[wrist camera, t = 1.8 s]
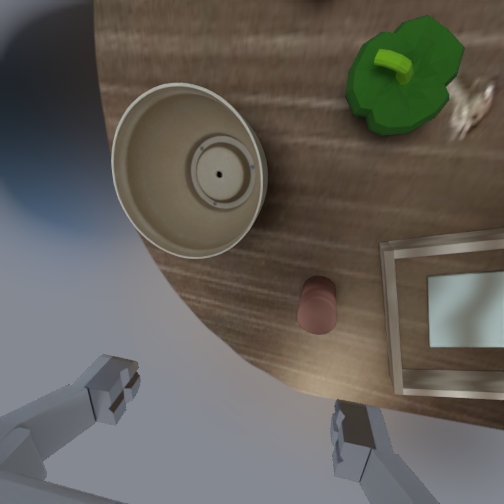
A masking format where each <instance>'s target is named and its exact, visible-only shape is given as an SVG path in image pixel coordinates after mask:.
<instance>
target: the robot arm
mask: <svg viewBox="0 0 504 504" xmlns="http://www.w3.org/2000/svg"><path fill="white" fill-rule="evenodd" d="M138 368H139V366H138V362H136V361H133V360H128V359H124V358H119V357H115V356H110V355H105V354H103V355H101V356H99V357H98V358H97V359H96V360H95V361H94V363H92V364H91V366H89V367H88V368H87V370H86V371H85V372H84V373H83V374H82V375H81V376H80V377H79V378H78V379H77V380H76V381H75V382H74V383H73V384H72V385H70V384H68V385H66V386H64V387H62V388H60V389H58V390H56V391H54V392H51V393H49V394H47V395H45V396H43V397H41V398H39V399H37V400H35V401H33V402H31V403H29V404H27V405H25V406H22V407H21V408H18V409H16V410H14V411H12V412H10V413H8V414H6V415H4V416H2V417H0V504H127V503H123V502H120V501H116V500H112V499H109V498H105V497H101V496H97V495H94V494H91V493H87V492H83V491H80V490H76V489H72V488H69V487H65V486H62V485H58V484H54V483H50V482H47V481H44V480H45V478H46V476H47V471H46V469H45V466H44V464H43V461H44V460H45V459H47V458H48V457H50V456H51V455H52V454H54V453H55V452H56V451H58V450H59V449H60V448H62V447H63V446H65V445H66V444H67V443H69V442H70V441H72V440H73V439H74V438H76V437H77V436H78V435H80V434H81V433H83V432H84V431H85V430H87V429H88V428H89V427H91V426H92V425H93V424H95V422H101V423H106V424H111V425H116V424H117V423H118V421H119V420H120V418H121V417H122V415H123V414H124V412H125V411H126V404H127V403H129V402H130V401H132V400H133V399H134V397H135V396H136V394H137V392H138V389H139V387H140V375H139V374H138V373H137V372H136V371H137V370H138ZM330 430H331V431H330V432H331V443H332V444H333V446H334V451H333V455H332V457H333V467H334V476H336V477H340V478H343V479H347V480H351V481H355V482H359V483H360V486H361V488H362V489H363V491H364V493H365V495H366V496H367V498H368V500H369V502H370V503H371V504H440V503H439V502H438V501H437V500H436V499H435V497H434V496H433V495H432V494H431V493H430V492H429V490H428V489H427V488H426V487H425V486H424V484H423V483H422V482H421V481H420V480H419V478H418V477H417V476H416V475H415V474H414V473H413V471H412V470H411V469H410V468H409V467H408V465H407V464H406V463H405V462H404V461H403V460H402V458H401V457H400V456H399V455H398V454H394V452H393V449H392V446H391V442H390V439H389V436H388V432H387V428H386V425H385V422H384V418H383V415H382V411H381V409H380V408H379V407H376V406H371V405H366V404H362V403H356V402H350V401H345V400H339V399H337V400H336V402H335V413H334V414H332V419H331V428H330Z"/></svg>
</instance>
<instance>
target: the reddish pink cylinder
mask: <svg viewBox="0 0 504 504" xmlns="http://www.w3.org/2000/svg"><path fill="white" fill-rule="evenodd" d="M297 318H298V322H299V324H300V326H301V327H302V328H303V329H304V330H306V331H307V332H309V333H312V334H317V335H321V334H326V333H328V332H330V331H331V330H332V329H333V328H334V327H335V325H336V321H337V315H336V288H335V285H334V284H333V282H332V281H331V280H330V279H328V278H326V277H323V276H314V277H311V278H309V279H308V280H307V281H306V282H305V284H304V286H303V291H302V296H301V300H300V305H299V310H298V314H297Z"/></svg>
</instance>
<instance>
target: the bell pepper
mask: <svg viewBox="0 0 504 504" xmlns="http://www.w3.org/2000/svg"><path fill="white" fill-rule="evenodd" d="M464 49H465V48H464V46H463V45H462V44H461V43H460V42H459V41H458V40H457V39H456V37H455V36H454V35H453V34H452V33H451V32H450V31H449V30H448V29H447V28H445V27H444V26H443V25H441V24H440V23H438V22H437V21H436V20H434V19H433V18H432V17H430V16H428V15H427V16H423V17H420V18H416V19H413V20H409V21H406V22H403V23H402V24H401V25H400V26H399V27H398V28H397V29H396V30H395V31H394V32H393V33H391V32H381V33H379V34H378V35H376V36H375V37H373V38H372V39H370V40H369V41H368V42H366V43H365V44H363V45H362V47H361V49H360V51H359V53H358V55H357V57H356V59H355V61H354V63H353V65H352V67H351V69H350V71H349V73H348V81H347V89H346V99H347V102H348V104H349V106H350V108H351V111H352V113H353V115H354V116H358V117H365V119H366V123H367V127H368V130H369V131H371V132H374V133H376V134H378V135H380V136H383V135H397V134H406V133H409V132H411V131H412V130H414V129H416V128H418V127H419V126H421V125H423V124H424V123H426V122H428V121H430V120H431V119H433V118H435V117H436V115H437V114H438V113H439V112H440V111H441V109H442V108H443V107H444V106H445V105H446V103H447V102H448V101H449V94H448V91H447V89H446V86H447V85H448V84H449V83H450V82H451V81H452V80H453V79H454V78H455V77H456V76H457V73H458V70H459V66H460V63H461V59H462V56H463V52H464Z"/></svg>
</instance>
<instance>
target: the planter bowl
mask: <svg viewBox="0 0 504 504" xmlns="http://www.w3.org/2000/svg"><path fill="white" fill-rule="evenodd" d="M111 162H112V174H113V181H114V186H115V189H116V192H117V196H118V199H119V201H120V203H121V205H122V208H123V209H124V211H125V213H126V215H127V216H128V218H129V219H130V221H131V223H132V224H133V225H134V226H135V228H136V229H137V230H138V231H139V232H140V233H141V234H142V235H143V236H144V237H145V238H146V239H147V240H149V241H150V242H151V243H152V244H154V245H155V246H157V247H158V248H160V249H162V250H164V251H166V252H168V253H170V254H173V255H176V256H179V257H183V258H191V259H202V258H209V257H213V256H216V255H219V254H222V253H224V252H226V251H228V250H229V249H231V248H232V247H234V246H235V245H236V244H237V243H238V242H239V241H240V240H241V239H243V237H244V236H245V235H246V234H247V233H248V232H249V230H250V229H251V227H252V226H253V224H254V222H255V220H256V218H257V216H258V215H259V213H260V211H261V208H262V206H263V203H264V200H265V196H266V192H267V185H268V169H267V162H266V157H265V154H264V150H263V148H262V145H261V143H260V141H259V139H258V137H257V135H256V133H255V132H254V130H253V129H252V127H251V126H250V125H249V123H248V122H247V121H246V120H245V119H244V118H243V116H242V115H241V114H240V113H239V112H238V111H237V110H236V109H235V108H234V107H233V106H232V105H231V104H230V103H228V102H227V101H226V100H225V99H223V98H222V97H220V96H219V95H217V94H215V93H214V92H212V91H210V90H208V89H206V88H203V87H200V86H197V85H193V84H188V83H169V84H163V85H160V86H157V87H155V88H152V89H150V90H148V91H147V92H145V93H144V94H142V95H141V96H139V97H138V98H137V99H136V100H135V101H134V102H133V103H132V104H131V105H130V106H129V108H128V109H127V110H126V112H125V113H124V115H123V116H122V118H121V120H120V122H119V124H118V127H117V129H116V133H115V136H114V141H113V147H112V161H111ZM217 172H221V173H222V177H220V178H219V177H218V176H217Z"/></svg>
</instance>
